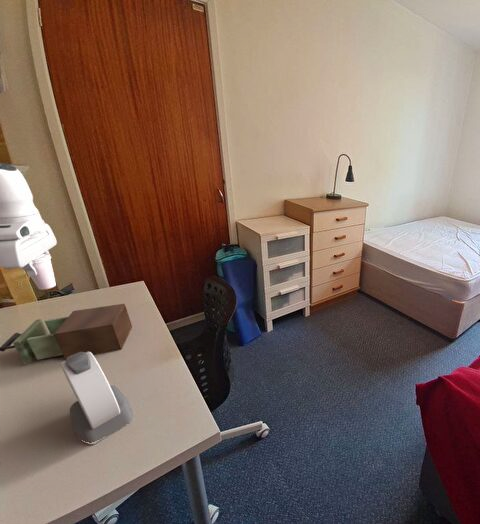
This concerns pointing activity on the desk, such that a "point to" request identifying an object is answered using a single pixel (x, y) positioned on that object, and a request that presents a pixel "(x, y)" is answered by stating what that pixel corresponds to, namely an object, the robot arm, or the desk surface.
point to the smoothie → (43, 272)
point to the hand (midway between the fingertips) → (40, 270)
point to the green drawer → (36, 341)
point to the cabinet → (94, 330)
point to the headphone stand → (94, 399)
